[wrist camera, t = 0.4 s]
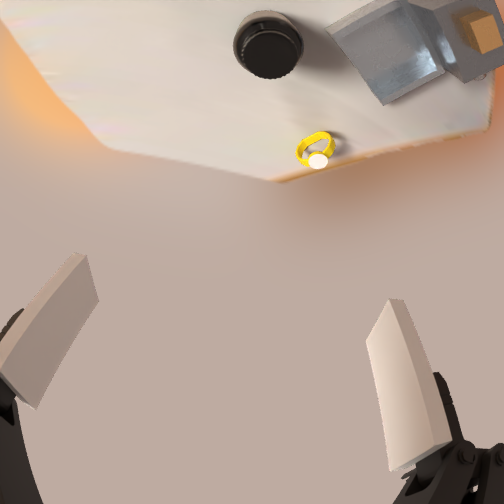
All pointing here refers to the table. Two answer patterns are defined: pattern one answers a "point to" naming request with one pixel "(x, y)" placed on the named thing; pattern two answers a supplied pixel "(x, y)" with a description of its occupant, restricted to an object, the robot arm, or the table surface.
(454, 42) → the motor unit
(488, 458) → the robot arm
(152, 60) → the table surface
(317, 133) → the watch
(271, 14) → the supplement bottle
